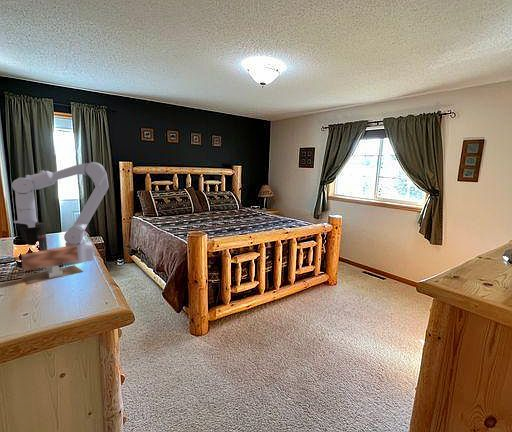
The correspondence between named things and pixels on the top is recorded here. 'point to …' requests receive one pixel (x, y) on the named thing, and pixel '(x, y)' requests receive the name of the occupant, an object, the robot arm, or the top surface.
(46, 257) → the reddish brown wooden block
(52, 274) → the ridge
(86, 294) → the top surface
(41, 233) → the deodorant
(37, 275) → the base board
